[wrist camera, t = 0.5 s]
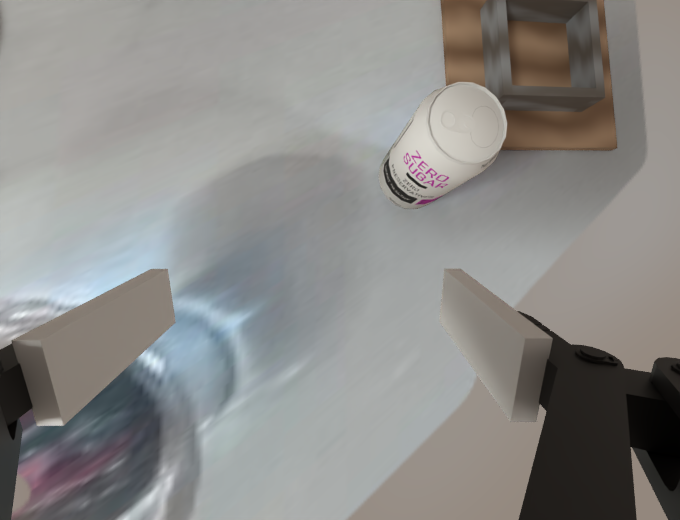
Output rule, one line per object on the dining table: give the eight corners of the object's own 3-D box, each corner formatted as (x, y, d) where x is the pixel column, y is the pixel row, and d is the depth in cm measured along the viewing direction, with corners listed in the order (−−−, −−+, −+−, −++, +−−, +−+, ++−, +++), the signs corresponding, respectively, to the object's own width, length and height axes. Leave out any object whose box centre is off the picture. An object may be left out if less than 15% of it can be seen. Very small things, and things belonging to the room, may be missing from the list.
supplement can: (441, 154, 42) (518, 85, 27) (434, 215, 41) (508, 178, 26) (382, 143, 41) (426, 65, 26) (373, 205, 40) (414, 161, 25)
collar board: (437, -18, 44) (454, -56, 39) (592, -7, 47) (626, -41, 42) (448, 151, 42) (467, 134, 38) (607, 152, 45) (644, 136, 40)
